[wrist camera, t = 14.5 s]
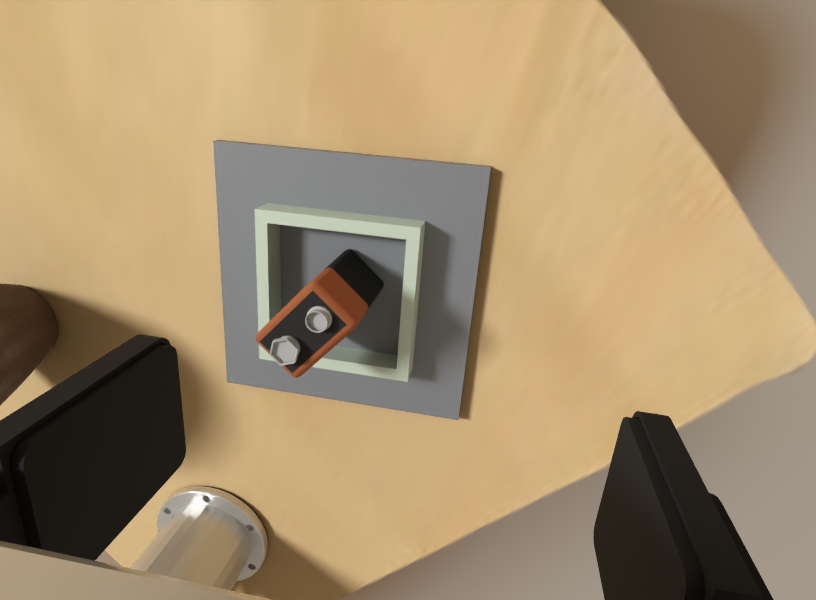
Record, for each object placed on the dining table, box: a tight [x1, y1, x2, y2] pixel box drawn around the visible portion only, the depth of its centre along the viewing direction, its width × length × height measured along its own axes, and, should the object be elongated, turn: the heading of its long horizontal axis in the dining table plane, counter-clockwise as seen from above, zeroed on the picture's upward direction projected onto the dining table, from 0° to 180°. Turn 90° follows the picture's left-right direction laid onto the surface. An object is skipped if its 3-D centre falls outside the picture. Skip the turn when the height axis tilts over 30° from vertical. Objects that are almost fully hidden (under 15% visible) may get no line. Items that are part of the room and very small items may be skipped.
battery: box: [256, 249, 384, 378], centre depth 40 cm, size 4×7×10 cm, turn 134°
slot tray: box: [213, 140, 491, 420], centre depth 44 cm, size 22×22×4 cm
